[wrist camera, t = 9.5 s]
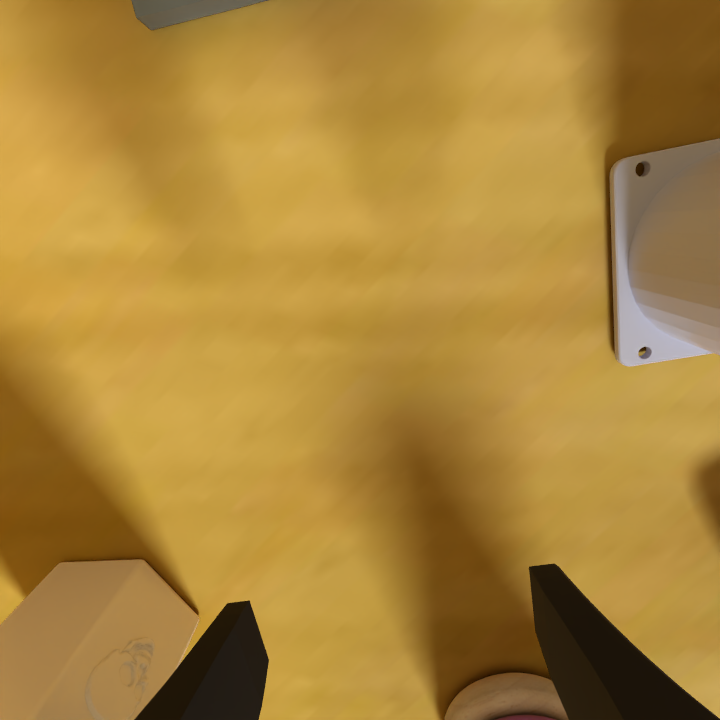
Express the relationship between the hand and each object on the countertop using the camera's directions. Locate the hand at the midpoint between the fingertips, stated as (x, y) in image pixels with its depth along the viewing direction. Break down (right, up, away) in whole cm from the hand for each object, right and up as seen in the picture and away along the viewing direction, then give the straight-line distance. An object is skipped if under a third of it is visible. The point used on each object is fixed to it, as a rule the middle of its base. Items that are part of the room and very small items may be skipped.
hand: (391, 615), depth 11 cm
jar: (-14, -7, +13) cm, 20 cm away
